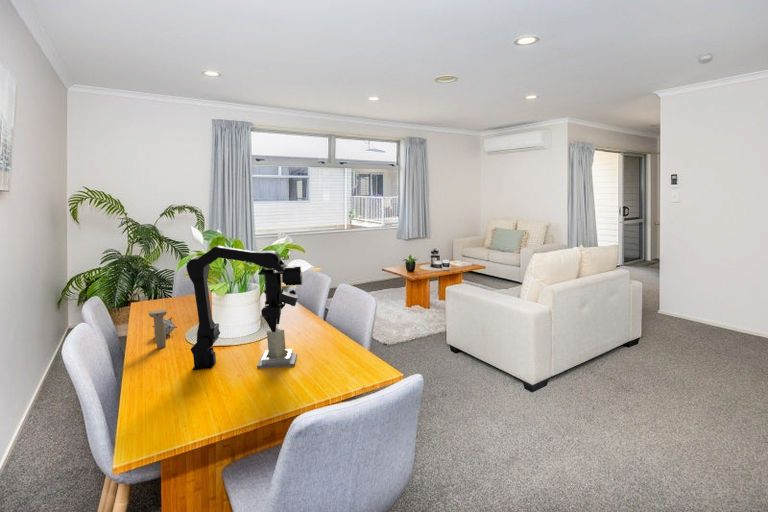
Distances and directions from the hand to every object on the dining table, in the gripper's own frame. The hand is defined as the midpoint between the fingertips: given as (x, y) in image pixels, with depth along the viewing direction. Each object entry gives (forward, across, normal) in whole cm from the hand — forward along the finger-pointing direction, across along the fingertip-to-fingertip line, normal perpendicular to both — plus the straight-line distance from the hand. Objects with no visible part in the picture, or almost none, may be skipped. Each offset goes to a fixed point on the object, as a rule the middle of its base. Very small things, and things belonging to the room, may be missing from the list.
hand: (275, 328), depth 154 cm
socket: (+13, 0, 0) cm, 13 cm away
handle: (+13, +23, +50) cm, 57 cm away
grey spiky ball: (+13, +38, +54) cm, 67 cm away
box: (+12, 0, 0) cm, 12 cm away
